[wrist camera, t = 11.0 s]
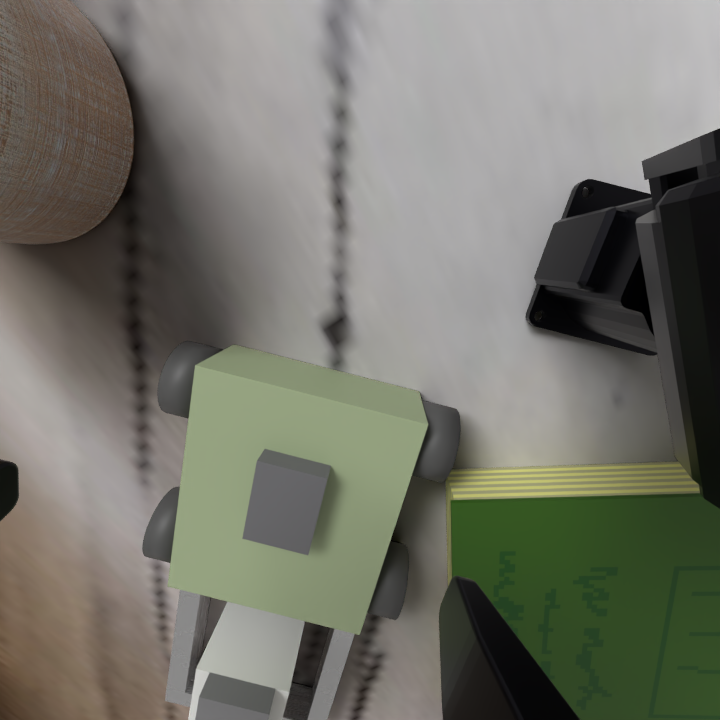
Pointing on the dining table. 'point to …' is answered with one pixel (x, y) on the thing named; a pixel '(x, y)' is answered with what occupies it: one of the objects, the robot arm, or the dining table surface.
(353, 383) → the green wheeled cart
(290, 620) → the chute block
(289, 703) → the gray rectangular open frame
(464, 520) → the hardcover book
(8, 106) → the planter
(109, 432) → the dining table surface
